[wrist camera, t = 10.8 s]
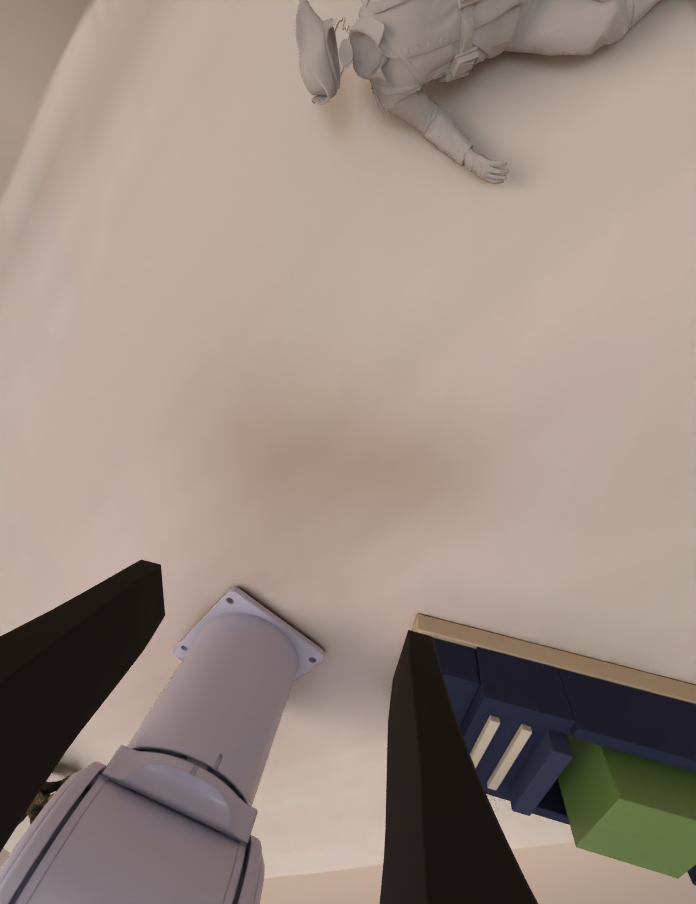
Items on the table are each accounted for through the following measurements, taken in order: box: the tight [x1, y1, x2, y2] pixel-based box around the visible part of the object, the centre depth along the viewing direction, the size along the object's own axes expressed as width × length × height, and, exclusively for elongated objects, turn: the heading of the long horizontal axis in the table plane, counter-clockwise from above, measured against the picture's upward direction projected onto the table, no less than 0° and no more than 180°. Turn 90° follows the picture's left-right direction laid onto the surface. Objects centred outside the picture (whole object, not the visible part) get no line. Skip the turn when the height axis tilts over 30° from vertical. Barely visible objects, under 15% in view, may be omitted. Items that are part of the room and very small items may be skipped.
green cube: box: [558, 730, 696, 878], centre depth 20 cm, size 5×5×5 cm
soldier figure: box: [296, 0, 661, 183], centre depth 11 cm, size 8×5×12 cm
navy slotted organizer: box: [390, 614, 696, 885], centre depth 22 cm, size 18×8×6 cm, turn 81°
